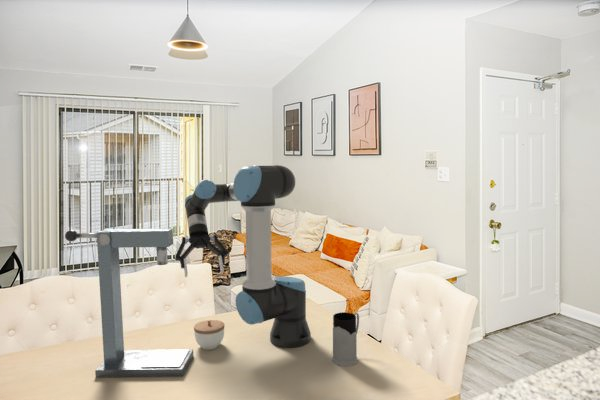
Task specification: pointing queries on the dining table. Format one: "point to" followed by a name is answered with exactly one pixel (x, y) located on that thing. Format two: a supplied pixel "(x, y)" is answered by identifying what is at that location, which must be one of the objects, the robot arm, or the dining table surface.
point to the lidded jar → (209, 333)
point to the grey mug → (345, 339)
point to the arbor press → (111, 306)
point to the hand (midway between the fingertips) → (204, 273)
